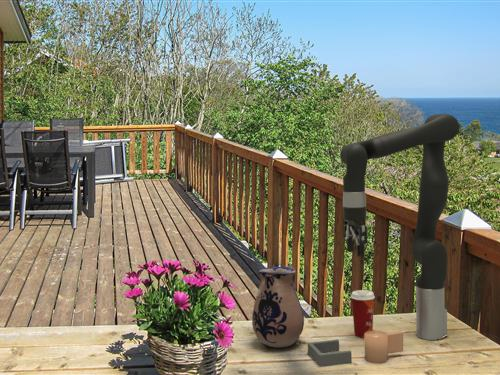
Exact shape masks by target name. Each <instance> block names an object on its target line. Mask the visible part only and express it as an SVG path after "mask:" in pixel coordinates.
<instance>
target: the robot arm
mask: <svg viewBox="0 0 500 375" xmlns="http://www.w3.org/2000/svg"><path fill="white" fill-rule="evenodd" d="M459 130H460V123H459V120H458V119H457V118H456V117H455V116H454V115H452V114H449V113H438V114H437V113H436V114H432V115H429V116H428V117H427V118H426V119H425V121H424V123H423V124H420V125H417V126H415V127H411V128H406V129H401V130H395V131H392V132H388V133H384V134H380V135H377V136H374V137H372V138H369V139H367V140H366V139H365V140H361V141H356V142H352V143H348V144H346V145H345V146H343V147H342V149H340V151H339V152H340V153H339V157H340V160H341V161H342V163H343V164H345V165H346V170H345V171H346V172H345V174H344V176H343V177H342V178H343V179H342V183H343V184H342V188H343V189H342V193H343V195H342V219H343V222H342V223H343V225H342V229H343V232H342V233H343V235H342V236H343V238H344V239H345V241H346V251H347V253H352V252H354V249H355V248H354V247H355V246H354V245H355V244H354V243H355V242H356V255H357V257H361V258H362V257H364V256H365V245H367V244H368V226H367V225H366V224H363V222H362V221H365V220H366V219H367V197H366V180H365V178H366V173H367V167H368V161H369V160H372V159H375V160H376V159H381V158H385V157H387V156H391V155H393V154H397V153H400V152H404V151H405V150H408V149H412V148H415V147H418V146H419V147H420V146H422V162H421V173H420V183H419V191H418V192H419V193H418V207H417V217H416V218H417V219H416V225H415V232H414V236H413V240H412V245H411V254H412V257H413V260H414V261H415V262H416V263H417V264H420V265H421V269H420V275H418V276H417V277H416V278H415V311H416V312H415V314H416V315H415V317H416V318H415V319H416V322H415V324H416V326H415V328H416V334H415V336H416V337H418V338H420V339H422V340H428V341H438V340H437V339H439V340H441V339H440V338H442V337H443V336H445V335H447V336H448V309H447V308H446V307H445V282H446V280H447V276H448V252H447V248H446V246H445V245H444V244H443V243H442V242H440V241H438V240H437V238H436V237H437V226H438V222H439V220H440V218H441V216H442V214H443V212H444V210H445V208H446V205H447V201H448V198H449V197H448V196H449V187H450V186H449V185H450V184H449V183H450V182H449V181H450V180H449V174H448V172H447V168H446V164H445V156H444V155H445V145H446V142H449V141H451V140H453V139H454V138H456V137H457V135H458V133H459ZM354 240H355V242H354Z"/></svg>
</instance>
